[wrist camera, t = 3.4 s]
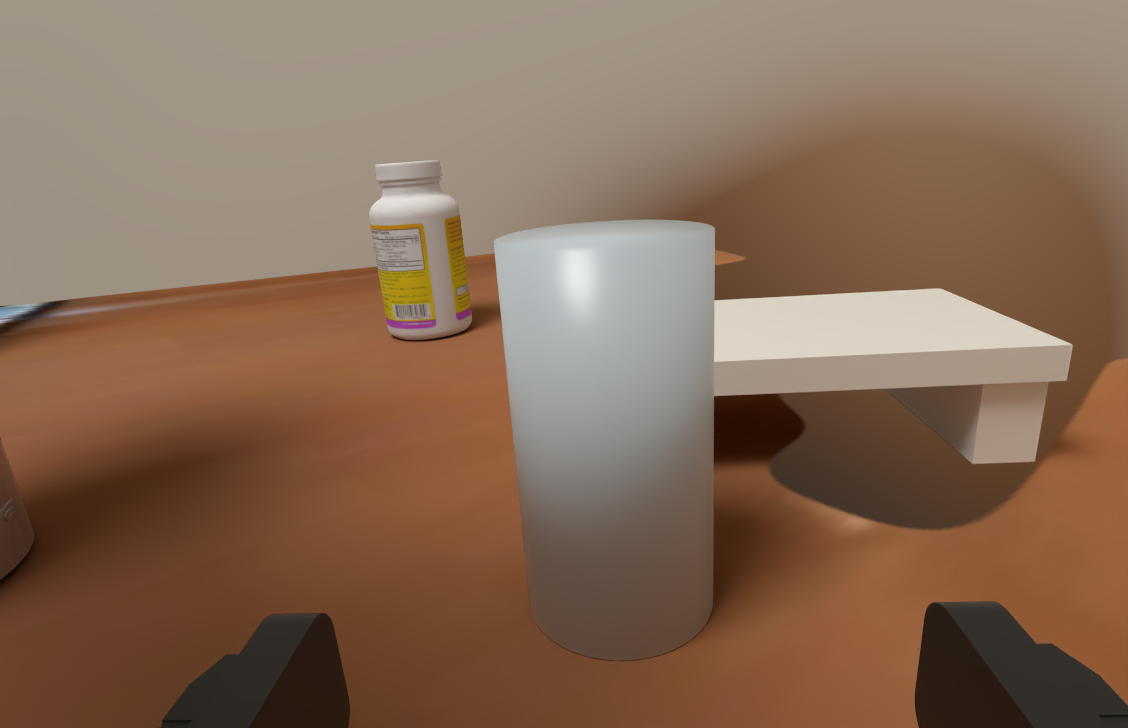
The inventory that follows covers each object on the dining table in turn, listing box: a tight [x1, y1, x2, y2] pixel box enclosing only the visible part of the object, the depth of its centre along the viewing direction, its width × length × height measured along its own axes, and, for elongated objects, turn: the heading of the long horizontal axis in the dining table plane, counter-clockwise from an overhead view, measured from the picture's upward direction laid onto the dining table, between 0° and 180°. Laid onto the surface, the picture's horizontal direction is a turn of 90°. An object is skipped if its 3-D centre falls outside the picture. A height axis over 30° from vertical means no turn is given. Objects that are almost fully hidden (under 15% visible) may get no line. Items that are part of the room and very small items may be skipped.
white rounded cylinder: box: [494, 220, 715, 661], centre depth 19 cm, size 6×6×11 cm
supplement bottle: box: [369, 160, 472, 340], centre depth 51 cm, size 7×7×13 cm
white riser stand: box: [714, 288, 1073, 464], centre depth 30 cm, size 18×10×5 cm, turn 87°
